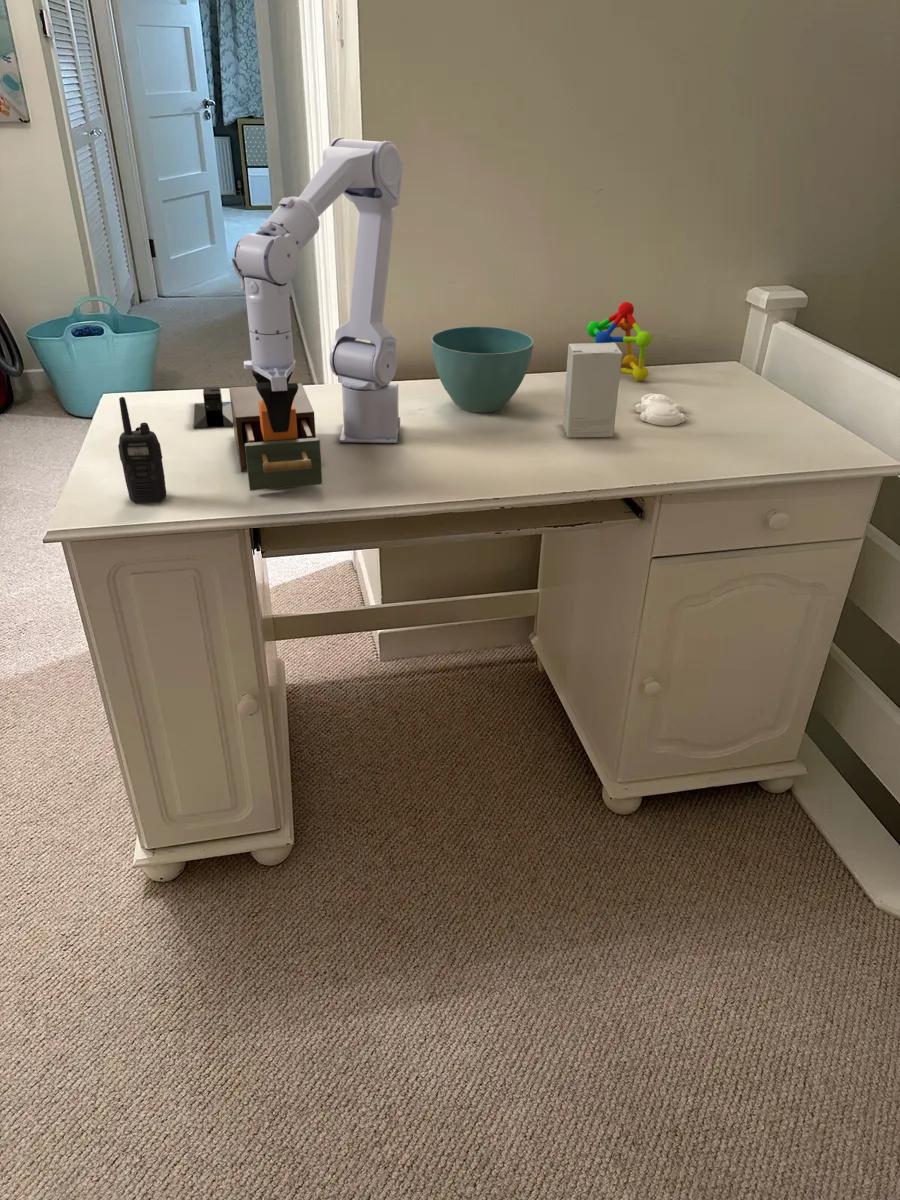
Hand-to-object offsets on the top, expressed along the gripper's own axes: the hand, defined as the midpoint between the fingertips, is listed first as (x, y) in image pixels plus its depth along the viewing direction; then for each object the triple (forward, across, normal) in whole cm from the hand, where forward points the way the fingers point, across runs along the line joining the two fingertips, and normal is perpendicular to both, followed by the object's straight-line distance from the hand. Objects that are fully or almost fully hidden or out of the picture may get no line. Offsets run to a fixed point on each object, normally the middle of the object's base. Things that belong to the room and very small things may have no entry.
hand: (278, 424), depth 125 cm
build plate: (+9, -30, -8) cm, 32 cm away
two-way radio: (+9, +2, -19) cm, 21 cm away
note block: (+1, 0, 0) cm, 1 cm away
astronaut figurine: (+9, -14, +70) cm, 72 cm away
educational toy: (+9, -38, +72) cm, 82 cm away
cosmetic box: (+9, -8, +53) cm, 54 cm away
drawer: (+8, +1, 0) cm, 8 cm away
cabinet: (+9, -11, 0) cm, 14 cm away
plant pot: (+9, -26, +39) cm, 48 cm away
